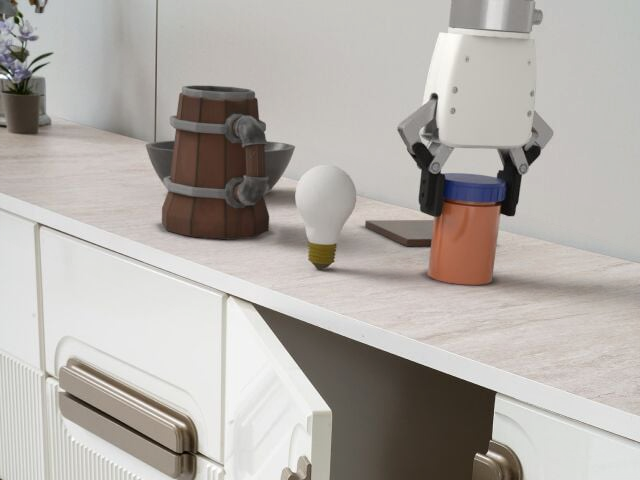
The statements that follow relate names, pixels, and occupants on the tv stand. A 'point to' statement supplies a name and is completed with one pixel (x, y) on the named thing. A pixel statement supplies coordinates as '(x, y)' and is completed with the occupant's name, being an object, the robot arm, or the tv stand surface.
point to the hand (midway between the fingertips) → (467, 213)
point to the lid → (474, 187)
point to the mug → (217, 165)
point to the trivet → (404, 230)
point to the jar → (464, 242)
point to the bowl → (274, 159)
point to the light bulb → (324, 209)
